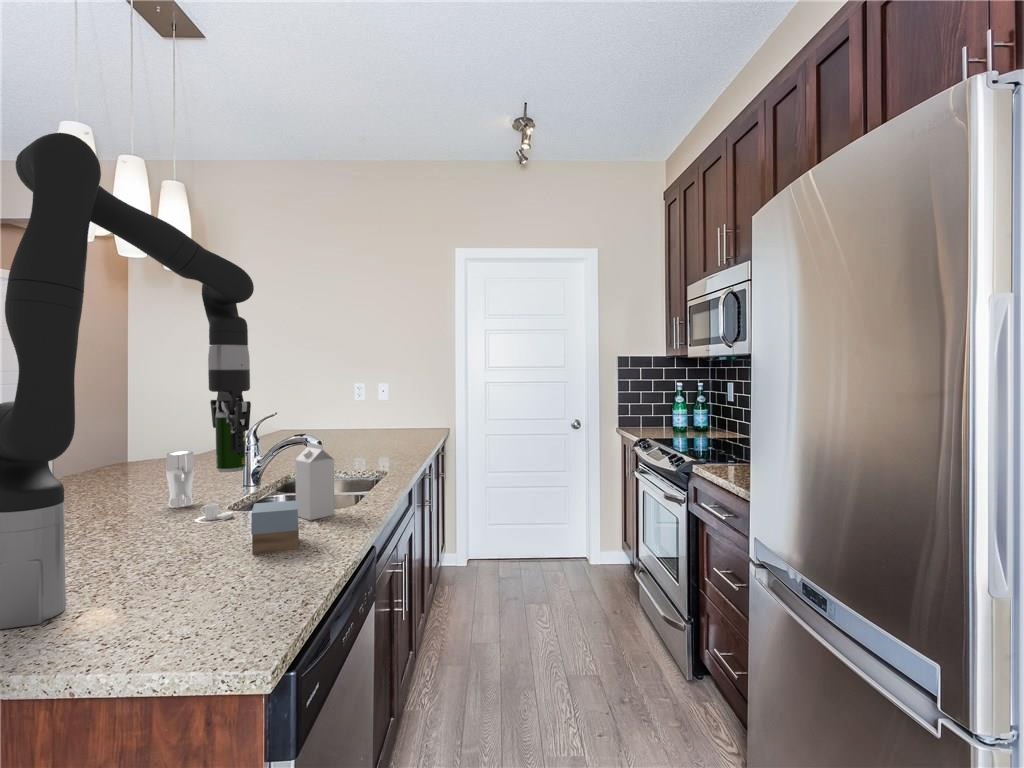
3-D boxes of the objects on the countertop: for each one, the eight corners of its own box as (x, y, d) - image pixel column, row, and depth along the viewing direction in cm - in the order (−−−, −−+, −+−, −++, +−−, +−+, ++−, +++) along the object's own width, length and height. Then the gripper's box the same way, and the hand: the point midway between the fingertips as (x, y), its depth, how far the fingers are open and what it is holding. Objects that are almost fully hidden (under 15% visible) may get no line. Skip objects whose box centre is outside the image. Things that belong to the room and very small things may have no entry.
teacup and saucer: (238, 518, 147) (238, 502, 147) (215, 526, 139) (215, 509, 139) (211, 515, 149) (211, 500, 149) (186, 523, 142) (186, 507, 142)
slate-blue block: (297, 530, 119) (297, 509, 119) (251, 534, 116) (251, 513, 116) (297, 519, 128) (297, 500, 128) (254, 523, 124) (254, 503, 124)
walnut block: (298, 551, 119) (298, 530, 119) (252, 556, 116) (252, 534, 116) (298, 539, 128) (297, 519, 128) (254, 543, 124) (254, 523, 124)
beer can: (217, 473, 110) (216, 413, 110) (214, 469, 115) (213, 411, 115) (247, 470, 113) (246, 411, 113) (243, 466, 118) (242, 410, 117)
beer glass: (170, 503, 161) (169, 451, 161) (197, 502, 163) (196, 450, 163) (163, 509, 154) (162, 455, 154) (191, 507, 156) (190, 454, 156)
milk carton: (319, 511, 153) (319, 441, 152) (334, 515, 148) (334, 443, 148) (295, 516, 147) (295, 444, 147) (310, 521, 143) (309, 446, 142)
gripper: (264, 367, 112) (265, 452, 112) (233, 367, 121) (234, 445, 122) (224, 368, 106) (226, 456, 107) (195, 368, 115) (197, 449, 116)
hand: (230, 450), depth 114 cm, fingers closed on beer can, 5 cm apart
